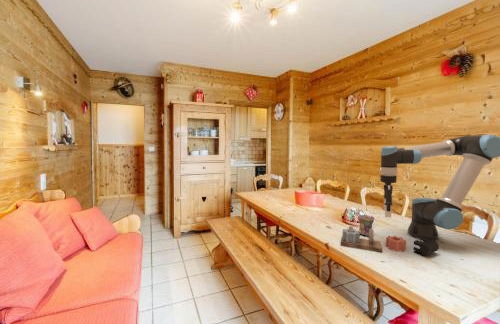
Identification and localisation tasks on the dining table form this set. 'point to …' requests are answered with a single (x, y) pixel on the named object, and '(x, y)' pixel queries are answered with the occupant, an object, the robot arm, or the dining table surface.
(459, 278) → the dining table surface
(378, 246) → the gear board
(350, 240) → the gear
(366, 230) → the mug
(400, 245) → the red gear
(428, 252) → the end cap
